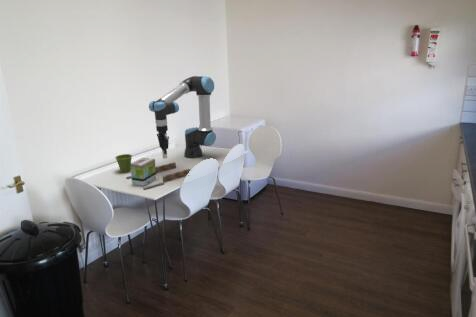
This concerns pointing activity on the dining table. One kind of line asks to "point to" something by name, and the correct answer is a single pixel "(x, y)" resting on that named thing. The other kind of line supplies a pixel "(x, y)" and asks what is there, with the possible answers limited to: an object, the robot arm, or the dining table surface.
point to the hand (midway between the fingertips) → (165, 158)
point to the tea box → (143, 171)
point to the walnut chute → (173, 175)
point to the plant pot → (124, 162)
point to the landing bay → (148, 186)
